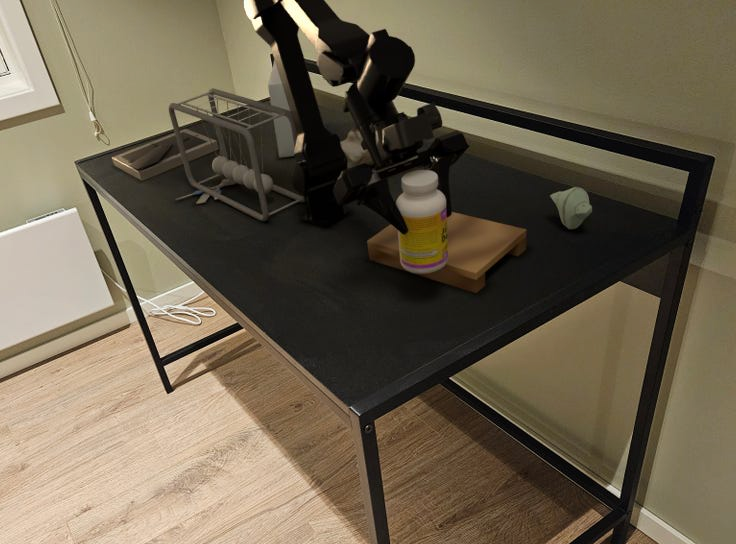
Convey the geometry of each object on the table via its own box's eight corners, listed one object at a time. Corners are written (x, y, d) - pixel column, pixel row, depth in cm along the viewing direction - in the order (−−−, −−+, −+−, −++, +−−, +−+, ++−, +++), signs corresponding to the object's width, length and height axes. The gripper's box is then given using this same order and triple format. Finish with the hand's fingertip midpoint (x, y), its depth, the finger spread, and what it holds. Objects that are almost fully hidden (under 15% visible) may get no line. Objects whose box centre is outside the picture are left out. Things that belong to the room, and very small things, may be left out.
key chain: (232, 177, 142) (231, 173, 142) (252, 187, 137) (251, 183, 136) (175, 201, 137) (174, 198, 137) (193, 212, 131) (192, 208, 131)
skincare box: (303, 155, 146) (290, 81, 136) (279, 159, 147) (264, 86, 137) (306, 123, 163) (294, 55, 153) (284, 126, 163) (271, 58, 153)
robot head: (544, 223, 107) (546, 184, 103) (564, 215, 108) (567, 176, 104) (579, 241, 101) (583, 201, 97) (600, 233, 102) (605, 192, 98)
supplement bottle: (450, 273, 90) (448, 185, 82) (401, 278, 91) (394, 191, 83) (445, 248, 95) (443, 163, 87) (399, 253, 96) (392, 169, 88)
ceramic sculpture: (315, 128, 133) (377, 110, 138) (319, 170, 138) (379, 151, 143) (342, 141, 125) (407, 122, 130) (346, 185, 130) (408, 164, 135)
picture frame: (142, 181, 149) (219, 149, 158) (138, 169, 148) (216, 137, 156) (114, 165, 160) (188, 136, 168) (110, 154, 158) (184, 125, 167)
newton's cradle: (188, 185, 142) (165, 102, 131) (229, 168, 146) (209, 86, 135) (267, 225, 122) (247, 130, 111) (311, 204, 126) (296, 111, 115)
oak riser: (369, 259, 107) (366, 240, 105) (420, 222, 114) (419, 203, 112) (476, 293, 95) (476, 272, 93) (525, 249, 102) (526, 229, 100)
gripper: (330, 108, 79) (385, 225, 77) (460, 67, 83) (514, 175, 82) (312, 153, 89) (360, 256, 88) (428, 114, 94) (475, 211, 93)
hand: (427, 224), depth 88 cm, fingers closed on supplement bottle, 6 cm apart
